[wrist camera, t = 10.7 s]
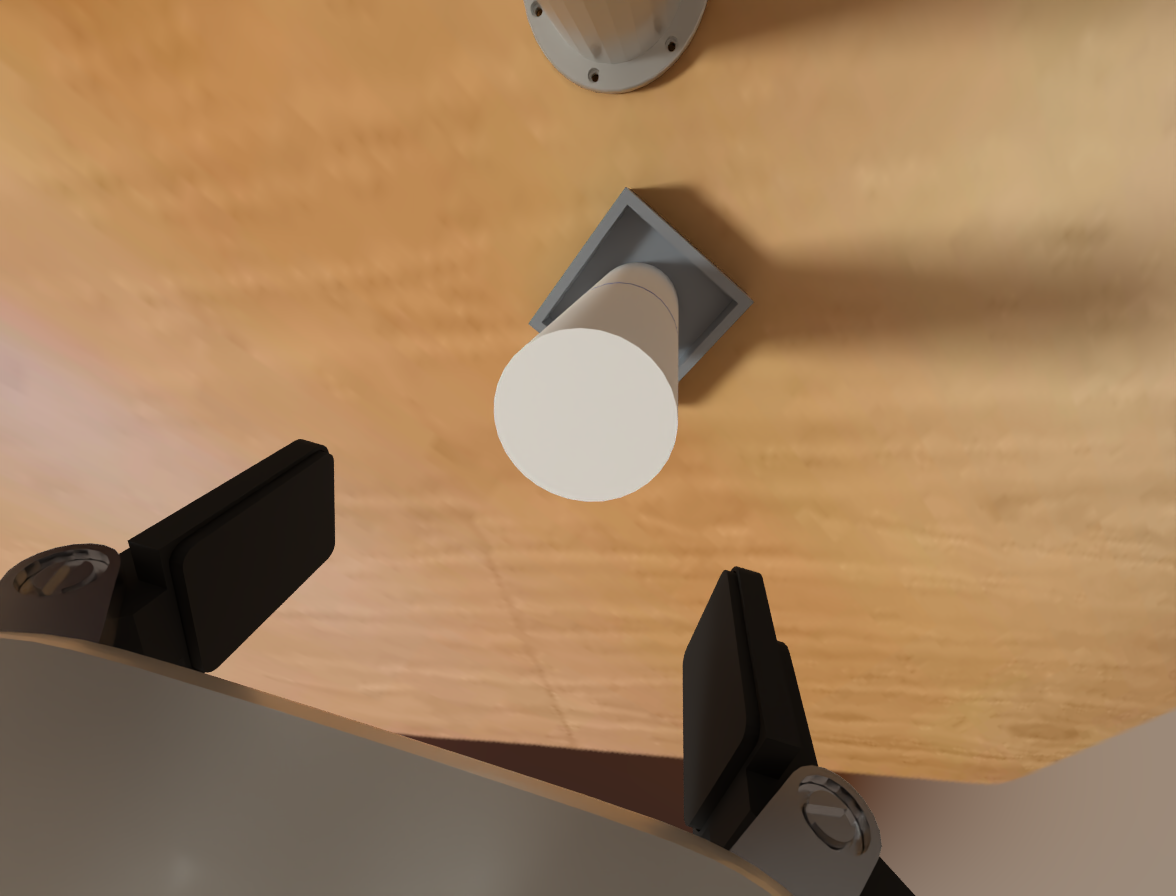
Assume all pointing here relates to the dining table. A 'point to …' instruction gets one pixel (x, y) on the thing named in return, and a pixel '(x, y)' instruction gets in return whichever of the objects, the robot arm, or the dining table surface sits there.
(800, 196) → the dining table surface
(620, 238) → the tray
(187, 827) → the robot arm
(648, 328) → the cylindrical container
